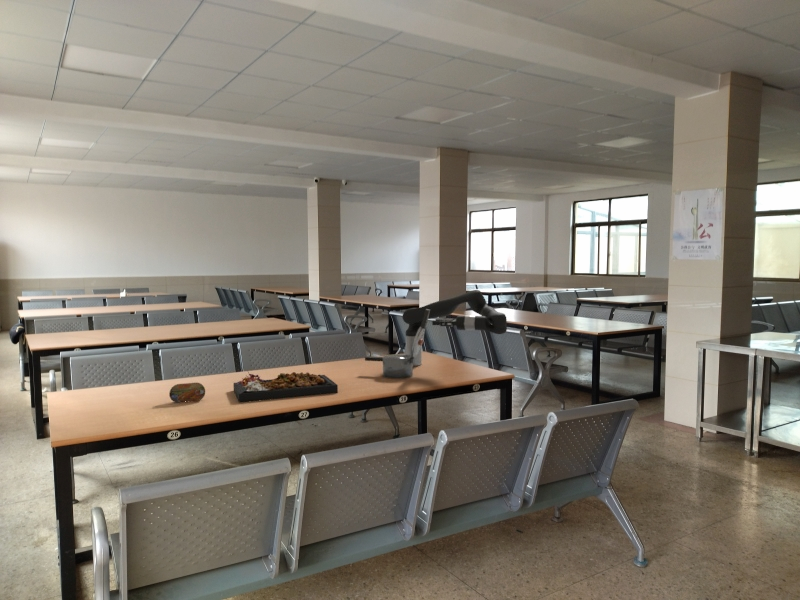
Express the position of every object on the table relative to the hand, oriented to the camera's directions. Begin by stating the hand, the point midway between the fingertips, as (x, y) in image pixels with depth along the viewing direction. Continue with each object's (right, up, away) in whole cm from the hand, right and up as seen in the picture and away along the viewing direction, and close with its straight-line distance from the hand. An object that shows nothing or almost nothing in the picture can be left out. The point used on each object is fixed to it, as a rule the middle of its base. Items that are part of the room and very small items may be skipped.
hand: (434, 322), depth 294 cm
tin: (-112, -34, -36) cm, 123 cm away
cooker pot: (-23, -29, +16) cm, 40 cm away
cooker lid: (-8, -6, +10) cm, 14 cm away
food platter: (-72, -33, -20) cm, 82 cm away
